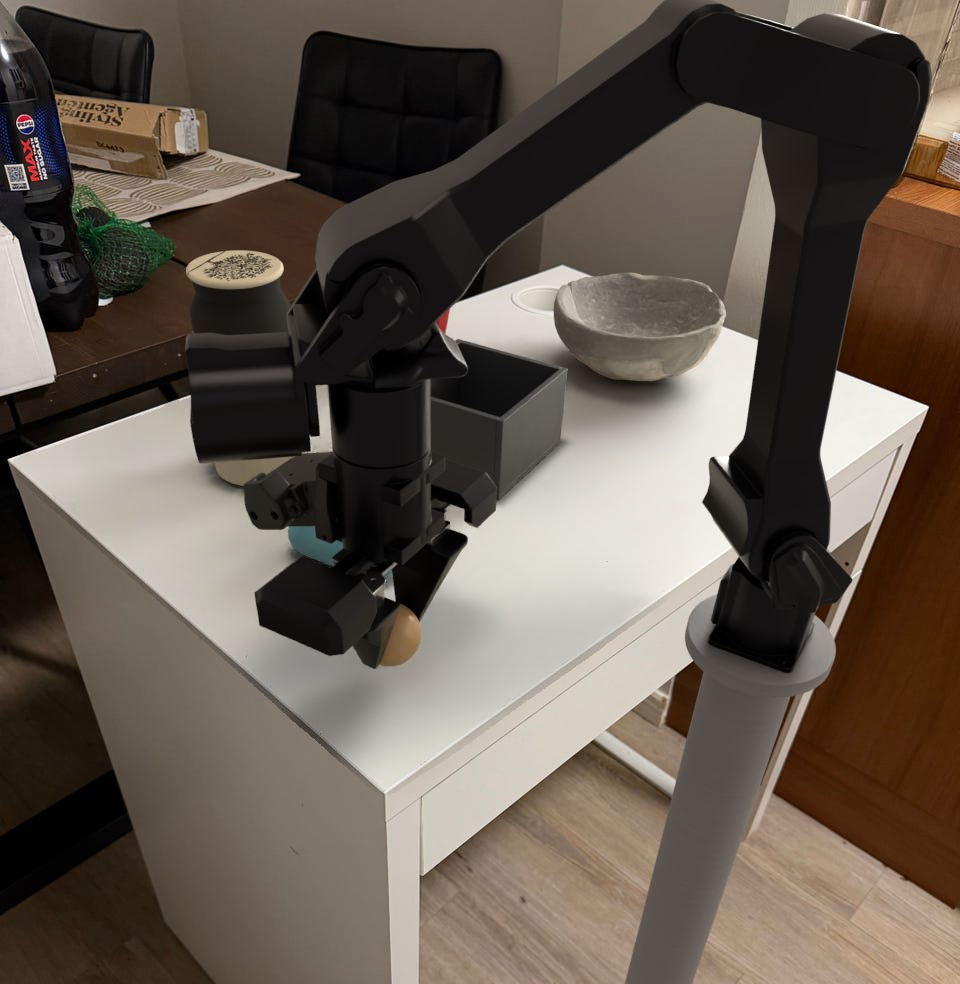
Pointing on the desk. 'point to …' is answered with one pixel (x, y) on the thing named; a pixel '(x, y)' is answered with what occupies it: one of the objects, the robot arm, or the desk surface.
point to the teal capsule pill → (314, 545)
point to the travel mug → (239, 317)
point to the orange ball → (402, 639)
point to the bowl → (638, 324)
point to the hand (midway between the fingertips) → (389, 646)
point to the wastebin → (498, 413)
